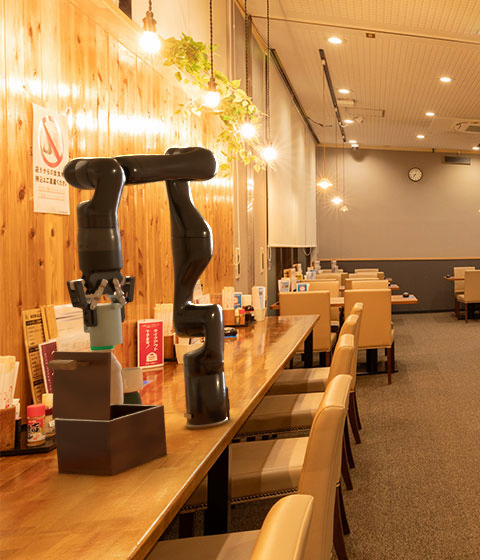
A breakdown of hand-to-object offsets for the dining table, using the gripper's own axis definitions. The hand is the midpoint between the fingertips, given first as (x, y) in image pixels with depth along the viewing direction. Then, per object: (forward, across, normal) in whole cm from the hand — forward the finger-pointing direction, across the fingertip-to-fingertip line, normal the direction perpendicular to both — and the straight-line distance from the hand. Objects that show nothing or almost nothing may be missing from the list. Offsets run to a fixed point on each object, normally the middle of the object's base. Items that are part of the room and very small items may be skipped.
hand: (105, 324), depth 143 cm
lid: (+12, -5, +1) cm, 14 cm away
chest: (+32, 0, +1) cm, 32 cm away
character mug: (+32, +39, +37) cm, 63 cm away
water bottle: (+32, +18, +22) cm, 43 cm away
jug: (+5, 0, 0) cm, 5 cm away
